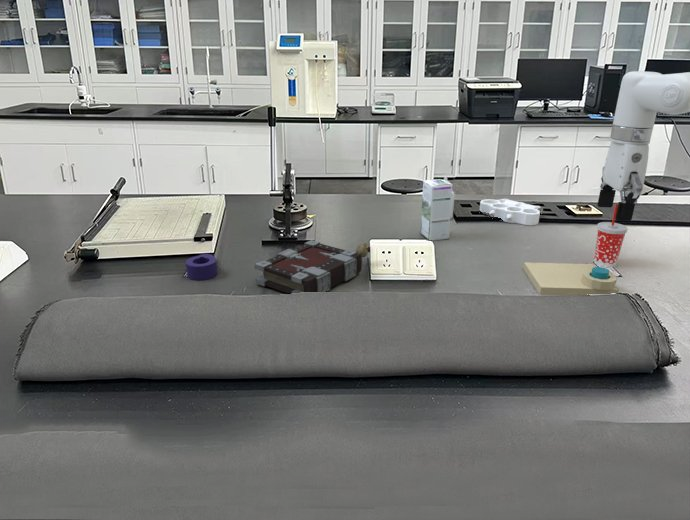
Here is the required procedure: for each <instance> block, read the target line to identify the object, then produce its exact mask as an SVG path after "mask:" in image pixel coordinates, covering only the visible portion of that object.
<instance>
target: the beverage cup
mask: <svg viewBox="0 0 690 520" xmlns="http://www.w3.org/2000/svg"><path fill="white" fill-rule="evenodd" d="M617 208H618V203H616V204H615V205H614V211H613V216H612V221H602V222H598V223H597V224H596V229H597V235H596V243H595V251H594V258H593V264H594V265H596V266H598V267H602V268H614V267H617V263H618V259H619V256H620V253H621V249H622V245H623V243H624V240H625V235H626V233H627V232H628V230H629V229H628V227H627V226H626V225H624V224H621V223H618V222H616V220H615V217H616V212H617Z"/></svg>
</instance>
